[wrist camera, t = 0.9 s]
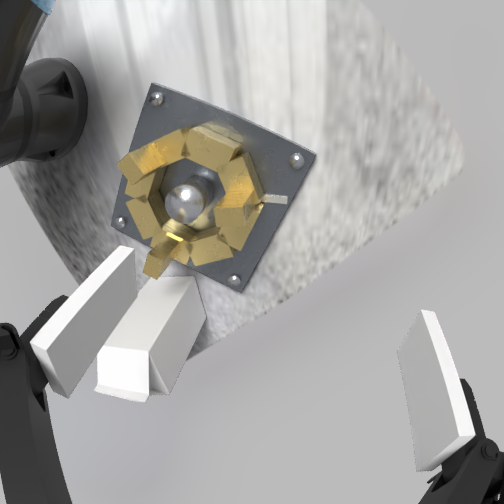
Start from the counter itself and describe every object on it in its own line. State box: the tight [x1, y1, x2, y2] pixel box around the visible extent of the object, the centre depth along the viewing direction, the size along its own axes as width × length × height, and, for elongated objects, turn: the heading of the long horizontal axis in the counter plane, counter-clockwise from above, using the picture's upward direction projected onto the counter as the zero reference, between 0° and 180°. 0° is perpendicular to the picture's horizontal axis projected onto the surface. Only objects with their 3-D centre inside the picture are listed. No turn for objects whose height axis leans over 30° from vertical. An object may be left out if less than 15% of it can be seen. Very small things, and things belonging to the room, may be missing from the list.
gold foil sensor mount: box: [117, 126, 265, 280], centre depth 33 cm, size 15×15×8 cm
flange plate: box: [111, 83, 316, 293], centre depth 35 cm, size 20×20×6 cm
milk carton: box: [94, 276, 206, 403], centre depth 37 cm, size 7×7×19 cm
